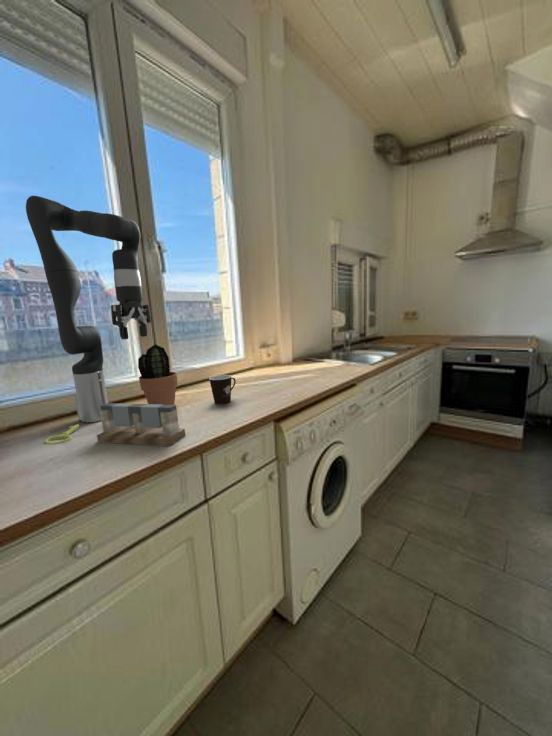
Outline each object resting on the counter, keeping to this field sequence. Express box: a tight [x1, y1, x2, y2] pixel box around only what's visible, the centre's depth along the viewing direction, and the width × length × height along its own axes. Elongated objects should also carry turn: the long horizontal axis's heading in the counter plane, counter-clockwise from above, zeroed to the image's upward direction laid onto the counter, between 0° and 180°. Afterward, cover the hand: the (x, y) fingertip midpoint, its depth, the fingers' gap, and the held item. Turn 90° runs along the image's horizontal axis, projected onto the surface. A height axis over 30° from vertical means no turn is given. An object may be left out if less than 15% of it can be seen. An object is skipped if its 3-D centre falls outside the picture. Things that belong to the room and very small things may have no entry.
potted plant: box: [137, 344, 179, 405], centre depth 120 cm, size 14×14×25 cm
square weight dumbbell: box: [101, 402, 177, 428], centre depth 91 cm, size 24×3×6 cm, turn 74°
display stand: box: [96, 407, 186, 447], centre depth 91 cm, size 24×8×9 cm, turn 74°
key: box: [44, 423, 80, 445], centre depth 97 cm, size 7×12×2 cm, turn 19°
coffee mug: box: [209, 374, 237, 405], centre depth 125 cm, size 12×9×10 cm
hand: (134, 337), depth 101 cm, fingers open, 8 cm apart
